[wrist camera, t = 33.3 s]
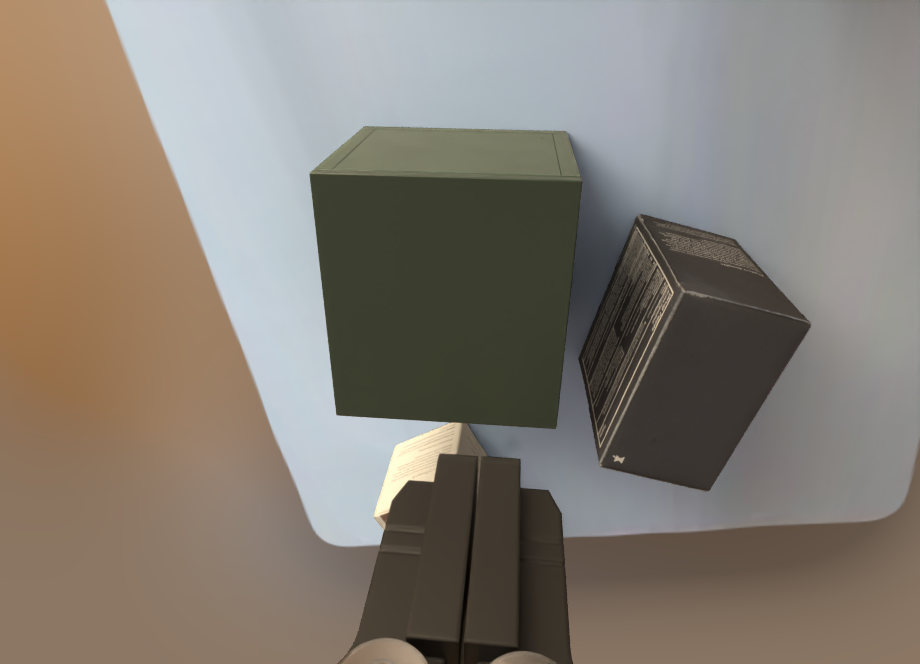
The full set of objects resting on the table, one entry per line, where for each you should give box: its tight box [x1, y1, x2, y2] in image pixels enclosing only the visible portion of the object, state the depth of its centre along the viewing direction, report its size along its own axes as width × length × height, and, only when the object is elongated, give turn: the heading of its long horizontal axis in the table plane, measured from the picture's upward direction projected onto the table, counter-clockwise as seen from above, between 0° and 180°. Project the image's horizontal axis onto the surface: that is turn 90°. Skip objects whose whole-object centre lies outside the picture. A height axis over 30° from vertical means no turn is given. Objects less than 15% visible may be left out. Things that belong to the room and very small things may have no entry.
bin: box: [314, 126, 581, 178], centre depth 32 cm, size 12×11×9 cm
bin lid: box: [310, 170, 582, 429], centre depth 28 cm, size 12×11×1 cm
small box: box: [578, 214, 811, 491], centre depth 33 cm, size 11×6×10 cm, turn 166°
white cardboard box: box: [374, 422, 488, 531], centre depth 42 cm, size 6×6×7 cm
